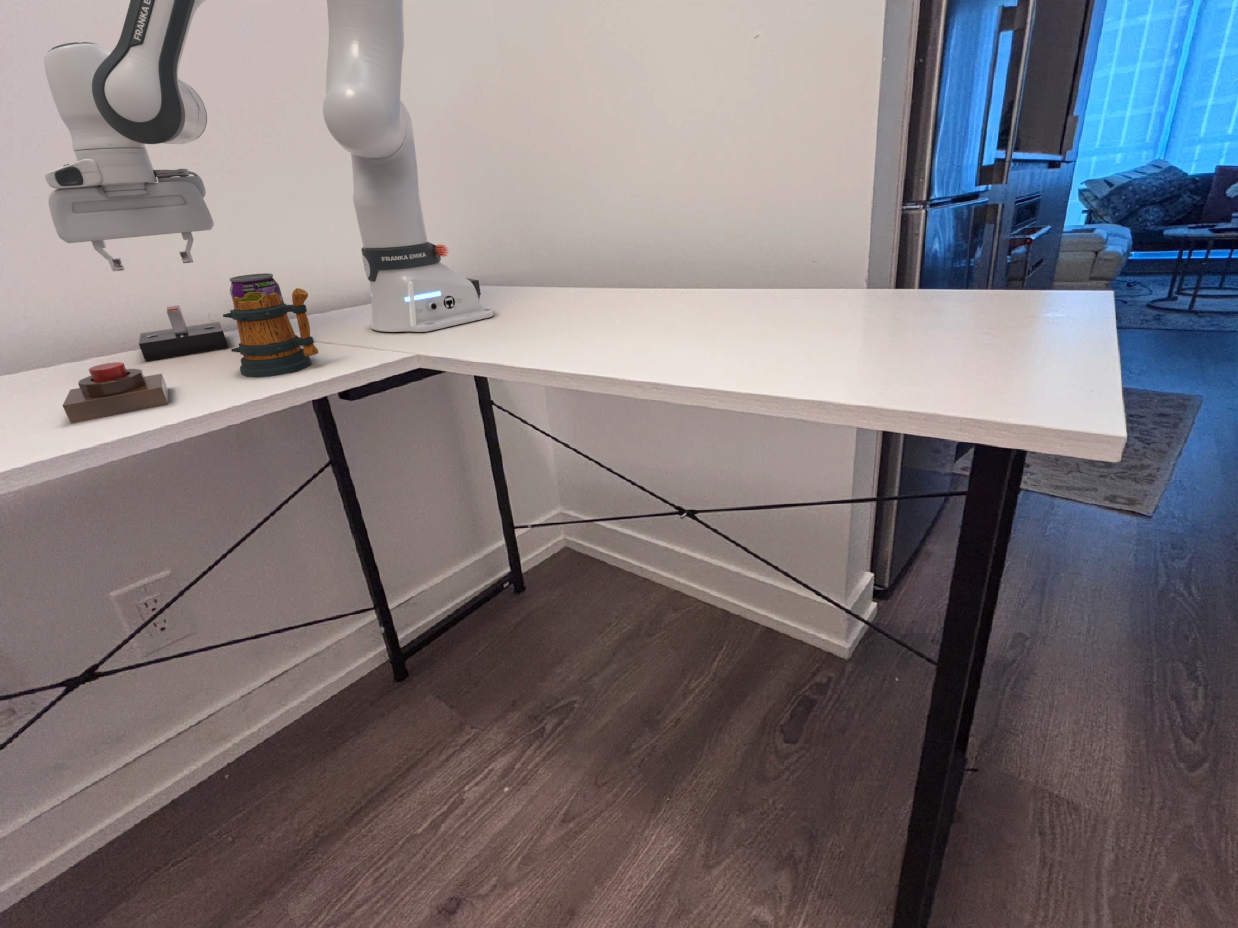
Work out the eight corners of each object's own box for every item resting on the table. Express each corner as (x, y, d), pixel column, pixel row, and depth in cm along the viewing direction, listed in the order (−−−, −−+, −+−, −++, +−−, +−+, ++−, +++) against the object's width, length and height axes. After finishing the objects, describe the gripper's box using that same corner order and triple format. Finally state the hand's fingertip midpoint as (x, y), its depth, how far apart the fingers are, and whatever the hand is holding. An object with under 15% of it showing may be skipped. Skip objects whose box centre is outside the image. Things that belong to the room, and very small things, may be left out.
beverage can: (277, 356, 100) (254, 279, 95) (239, 356, 102) (215, 280, 96) (305, 344, 106) (285, 272, 101) (269, 344, 108) (248, 273, 103)
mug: (223, 378, 90) (195, 297, 85) (267, 358, 99) (245, 284, 94) (306, 377, 88) (283, 294, 83) (343, 357, 97) (325, 281, 92)
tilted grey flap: (175, 329, 108) (166, 305, 107) (187, 328, 109) (178, 303, 107) (175, 335, 104) (166, 310, 102) (187, 333, 105) (178, 308, 103)
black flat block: (224, 337, 115) (218, 320, 113) (228, 348, 107) (222, 329, 106) (146, 350, 109) (139, 332, 108) (145, 361, 101) (138, 342, 100)
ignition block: (168, 390, 86) (157, 362, 84) (168, 404, 80) (156, 374, 78) (77, 406, 81) (64, 377, 79) (70, 424, 75) (56, 392, 73)
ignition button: (129, 373, 81) (124, 360, 81) (128, 379, 79) (122, 366, 78) (95, 379, 80) (89, 365, 79) (93, 385, 77) (87, 372, 76)
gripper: (197, 168, 101) (226, 256, 107) (38, 176, 92) (79, 273, 98) (198, 166, 97) (228, 259, 102) (30, 175, 87) (73, 277, 93)
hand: (154, 266), depth 100 cm, fingers open, 8 cm apart
